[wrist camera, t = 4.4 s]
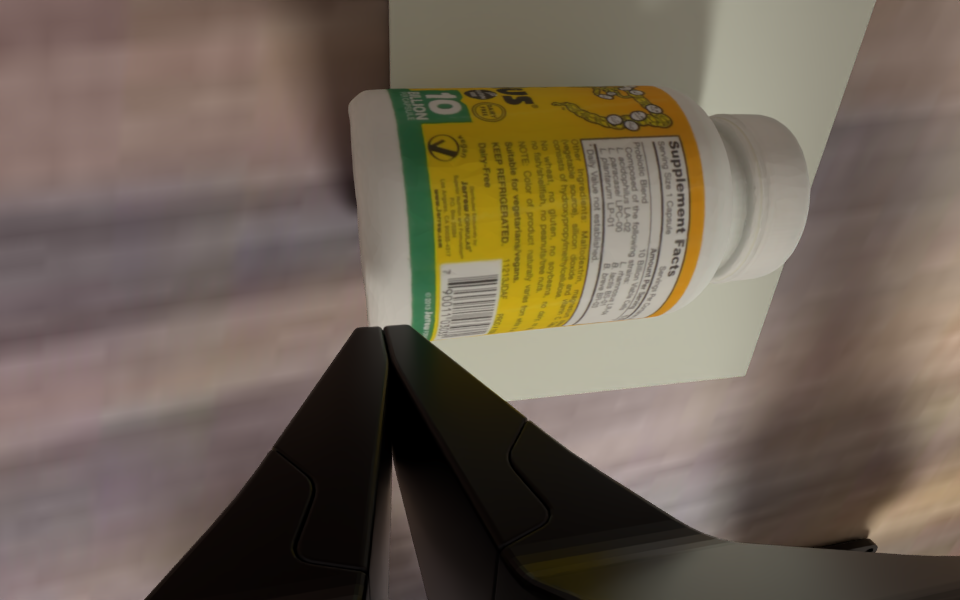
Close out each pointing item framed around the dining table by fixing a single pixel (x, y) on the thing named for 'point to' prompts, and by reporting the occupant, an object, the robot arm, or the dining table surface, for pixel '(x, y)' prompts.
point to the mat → (638, 62)
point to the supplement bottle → (563, 204)
